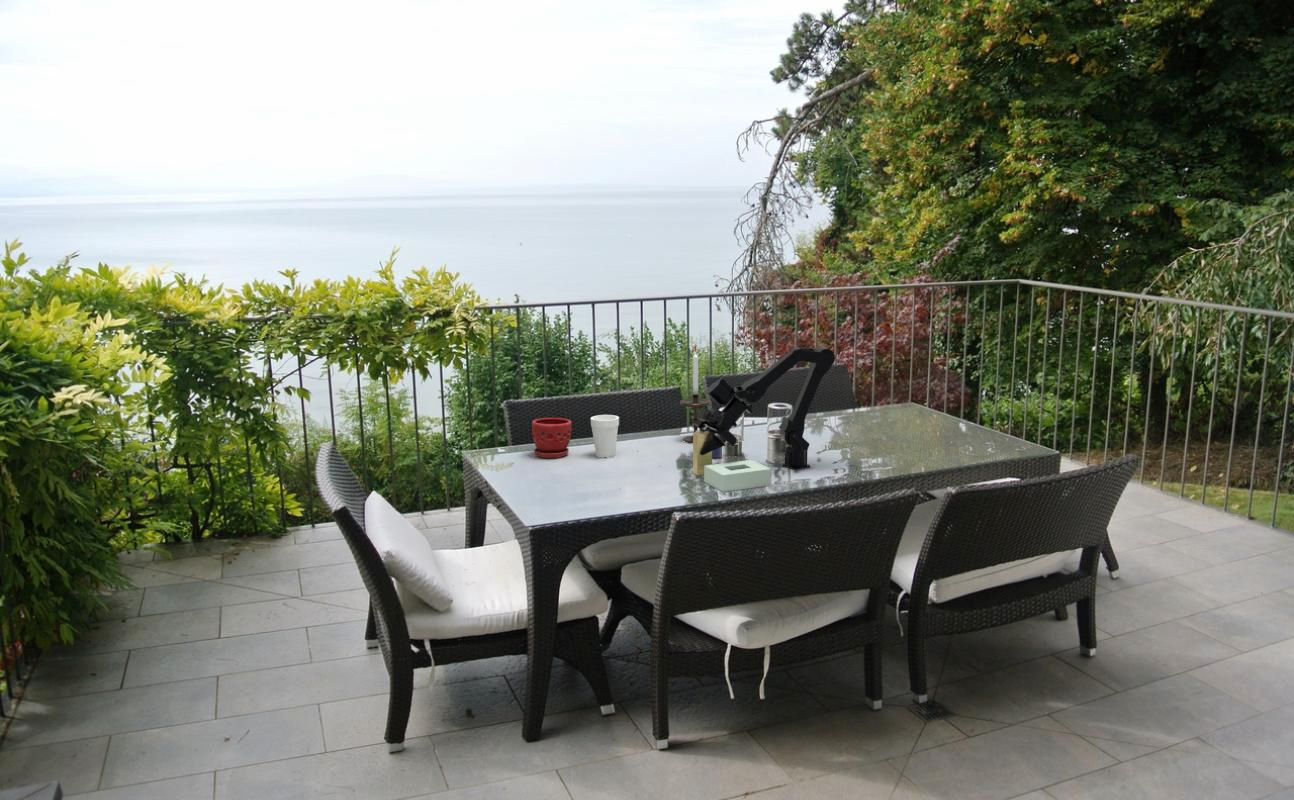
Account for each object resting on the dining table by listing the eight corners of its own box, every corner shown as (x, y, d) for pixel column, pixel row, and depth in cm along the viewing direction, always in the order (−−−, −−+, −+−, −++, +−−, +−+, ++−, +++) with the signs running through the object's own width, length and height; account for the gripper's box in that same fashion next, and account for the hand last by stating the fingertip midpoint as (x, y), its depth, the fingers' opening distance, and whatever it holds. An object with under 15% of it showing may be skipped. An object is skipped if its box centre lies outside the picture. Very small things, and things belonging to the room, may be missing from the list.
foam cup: (588, 458, 315) (587, 420, 313) (596, 451, 324) (595, 414, 322) (615, 459, 313) (614, 421, 311) (622, 453, 322) (622, 415, 320)
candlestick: (709, 444, 332) (709, 345, 326) (678, 443, 334) (678, 345, 327) (712, 437, 343) (712, 341, 336) (682, 437, 344) (681, 341, 338)
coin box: (750, 475, 292) (751, 459, 291) (770, 485, 281) (771, 468, 280) (704, 481, 286) (704, 465, 285) (722, 491, 275) (722, 475, 274)
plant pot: (562, 461, 312) (561, 425, 310) (526, 458, 317) (525, 423, 314) (578, 452, 324) (577, 417, 322) (543, 449, 329) (542, 415, 326)
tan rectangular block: (707, 471, 297) (707, 430, 295) (711, 473, 294) (712, 433, 292) (693, 473, 295) (693, 432, 293) (697, 475, 293) (697, 434, 290)
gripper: (700, 393, 300) (668, 431, 298) (728, 403, 284) (694, 443, 281) (722, 415, 305) (691, 452, 303) (750, 427, 288) (718, 466, 286)
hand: (698, 453), depth 293 cm, fingers closed on tan rectangular block, 3 cm apart
